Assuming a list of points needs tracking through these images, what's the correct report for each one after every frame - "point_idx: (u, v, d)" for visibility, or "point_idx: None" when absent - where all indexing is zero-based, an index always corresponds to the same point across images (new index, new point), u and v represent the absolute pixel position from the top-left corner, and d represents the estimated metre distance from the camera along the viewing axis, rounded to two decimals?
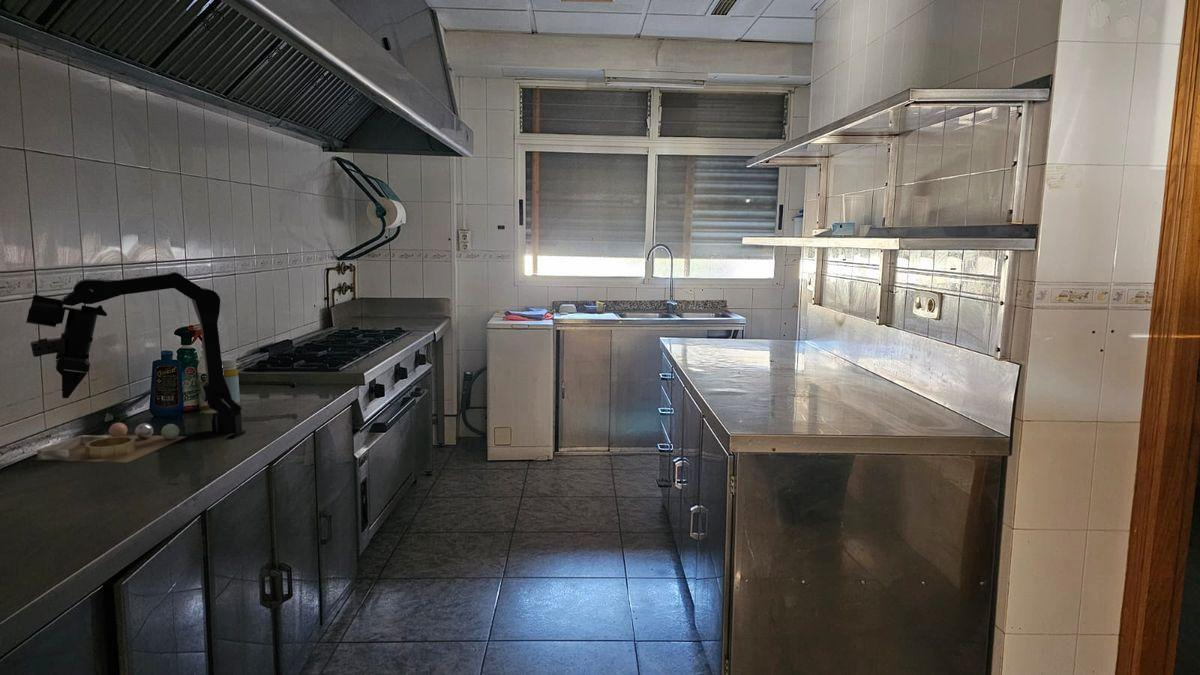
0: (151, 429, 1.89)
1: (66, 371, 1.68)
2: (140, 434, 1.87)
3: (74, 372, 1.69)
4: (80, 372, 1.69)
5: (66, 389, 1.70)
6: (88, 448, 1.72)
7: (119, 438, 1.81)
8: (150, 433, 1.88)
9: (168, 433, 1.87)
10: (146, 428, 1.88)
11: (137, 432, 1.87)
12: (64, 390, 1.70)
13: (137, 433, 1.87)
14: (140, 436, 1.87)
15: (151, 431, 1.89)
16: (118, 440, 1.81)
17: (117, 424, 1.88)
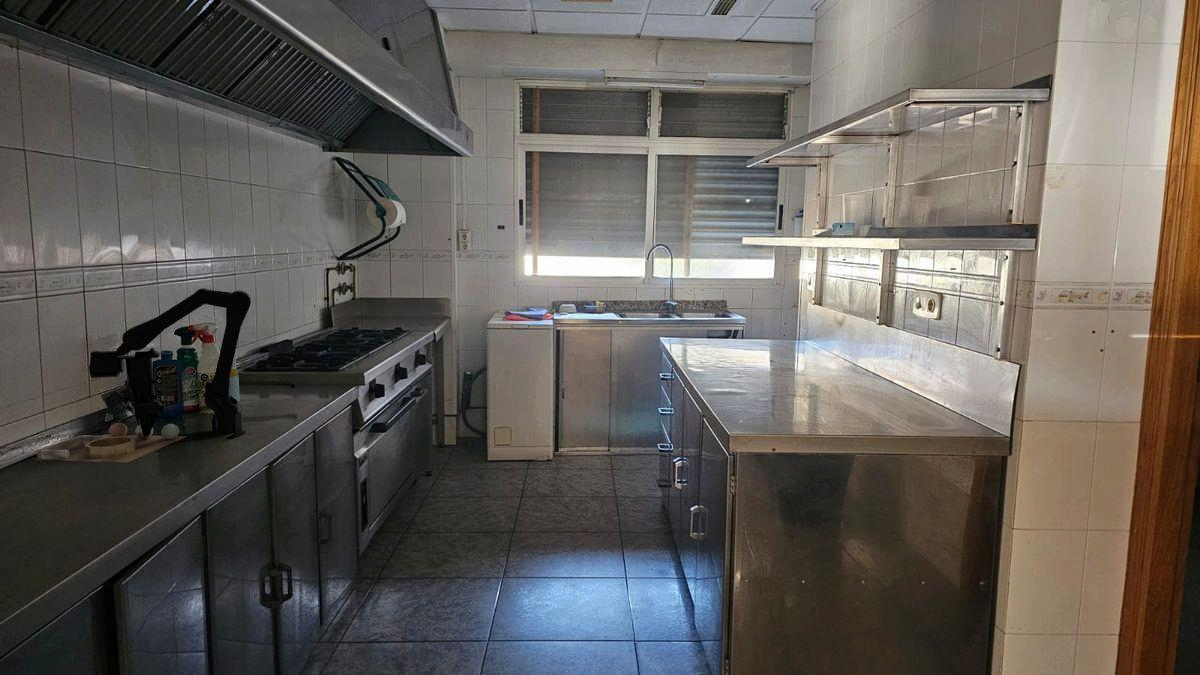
0: None
1: None
2: (140, 434, 1.87)
3: None
4: None
5: (145, 428, 1.86)
6: (88, 448, 1.72)
7: (119, 438, 1.81)
8: (150, 433, 1.88)
9: (168, 433, 1.87)
10: None
11: (137, 432, 1.87)
12: (144, 430, 1.86)
13: (137, 433, 1.87)
14: (140, 436, 1.87)
15: (151, 431, 1.89)
16: (118, 440, 1.81)
17: (117, 424, 1.88)
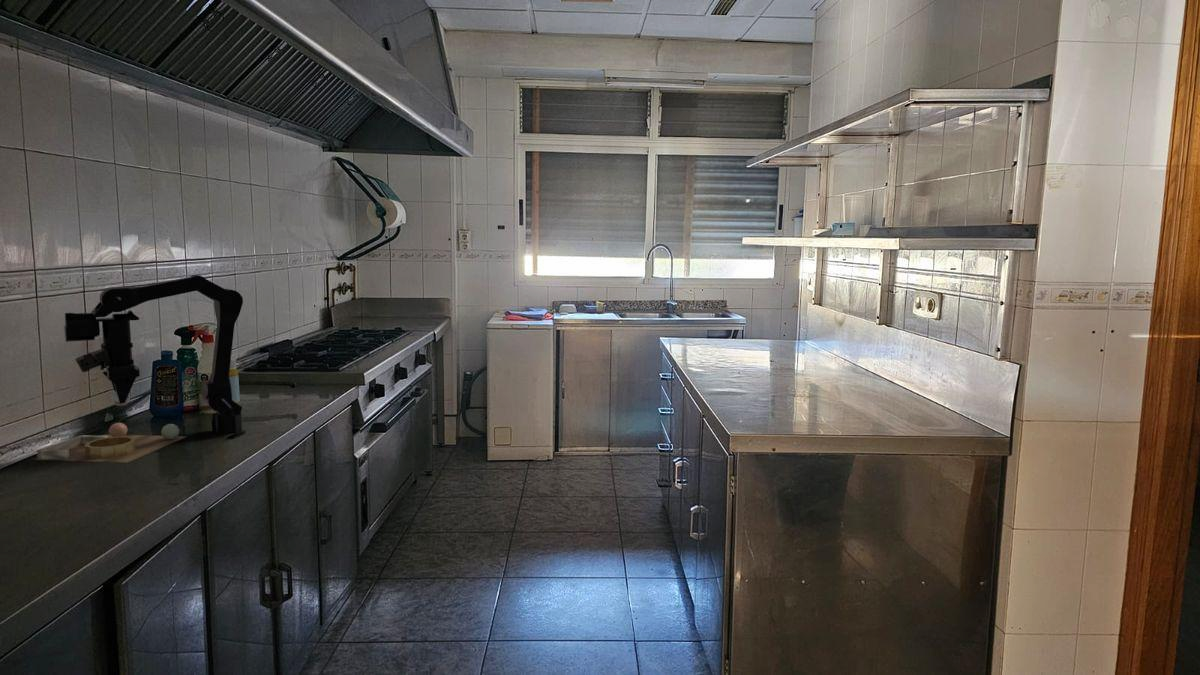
0: (128, 395, 1.81)
1: (117, 378, 1.75)
2: (116, 400, 1.79)
3: (125, 377, 1.76)
4: (130, 376, 1.77)
5: (121, 394, 1.78)
6: (88, 448, 1.72)
7: (119, 438, 1.81)
8: (127, 400, 1.80)
9: (168, 433, 1.87)
10: None
11: (113, 398, 1.79)
12: (120, 396, 1.78)
13: (113, 399, 1.79)
14: (116, 402, 1.79)
15: (128, 398, 1.81)
16: (118, 440, 1.81)
17: (117, 424, 1.88)
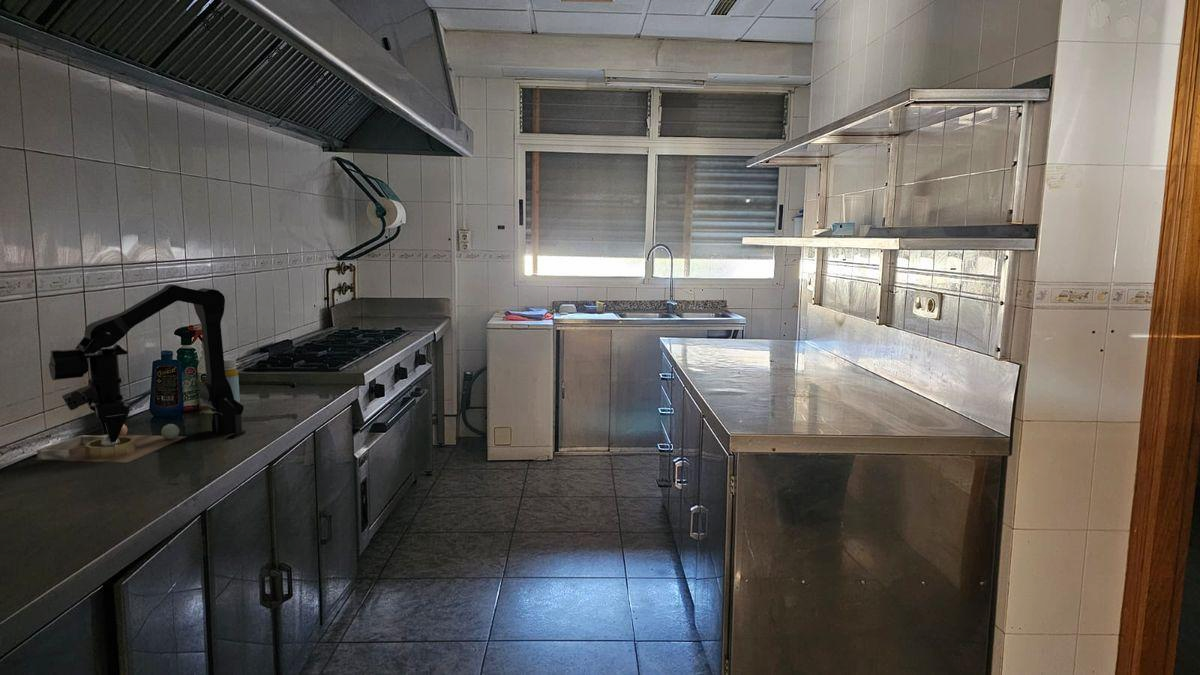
0: (118, 442, 1.77)
1: (108, 417, 1.69)
2: None
3: (116, 416, 1.70)
4: (121, 415, 1.71)
5: (112, 433, 1.72)
6: (88, 448, 1.72)
7: (119, 438, 1.81)
8: None
9: (168, 433, 1.87)
10: None
11: (102, 445, 1.75)
12: (111, 435, 1.72)
13: (103, 446, 1.75)
14: None
15: (118, 444, 1.77)
16: None
17: None
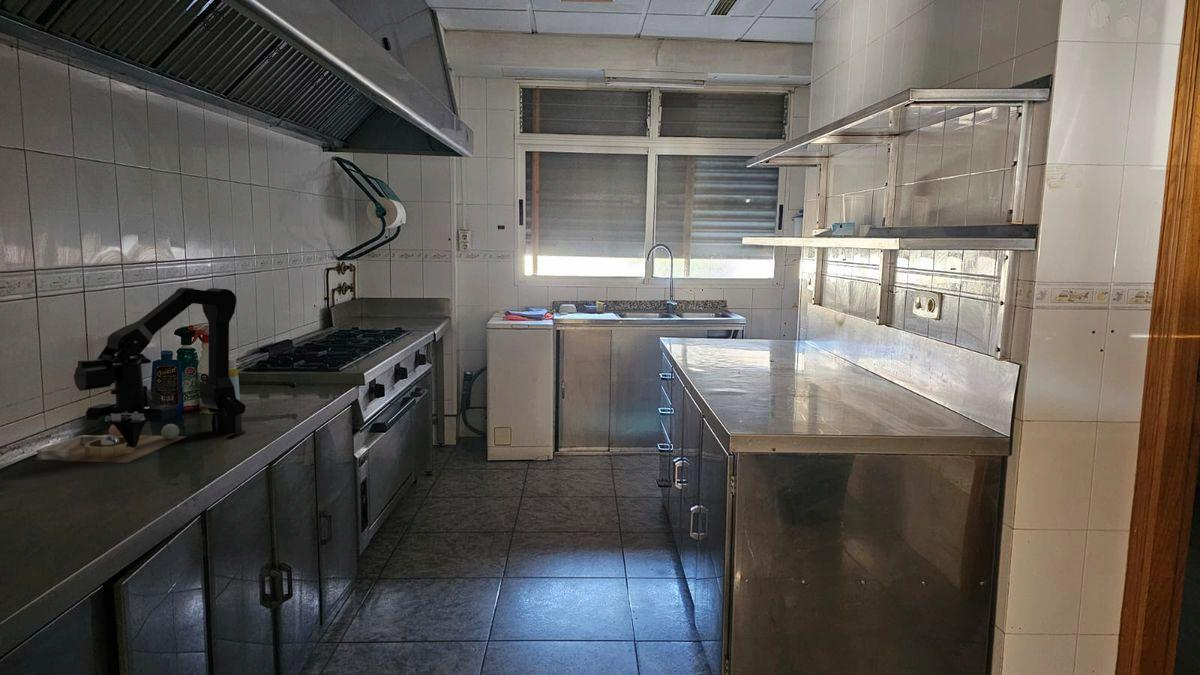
0: (117, 441, 1.77)
1: None
2: (105, 445, 1.75)
3: None
4: None
5: None
6: (88, 448, 1.72)
7: (119, 438, 1.81)
8: None
9: (168, 433, 1.87)
10: (112, 440, 1.76)
11: (102, 444, 1.75)
12: None
13: (102, 445, 1.75)
14: None
15: (117, 443, 1.77)
16: None
17: None
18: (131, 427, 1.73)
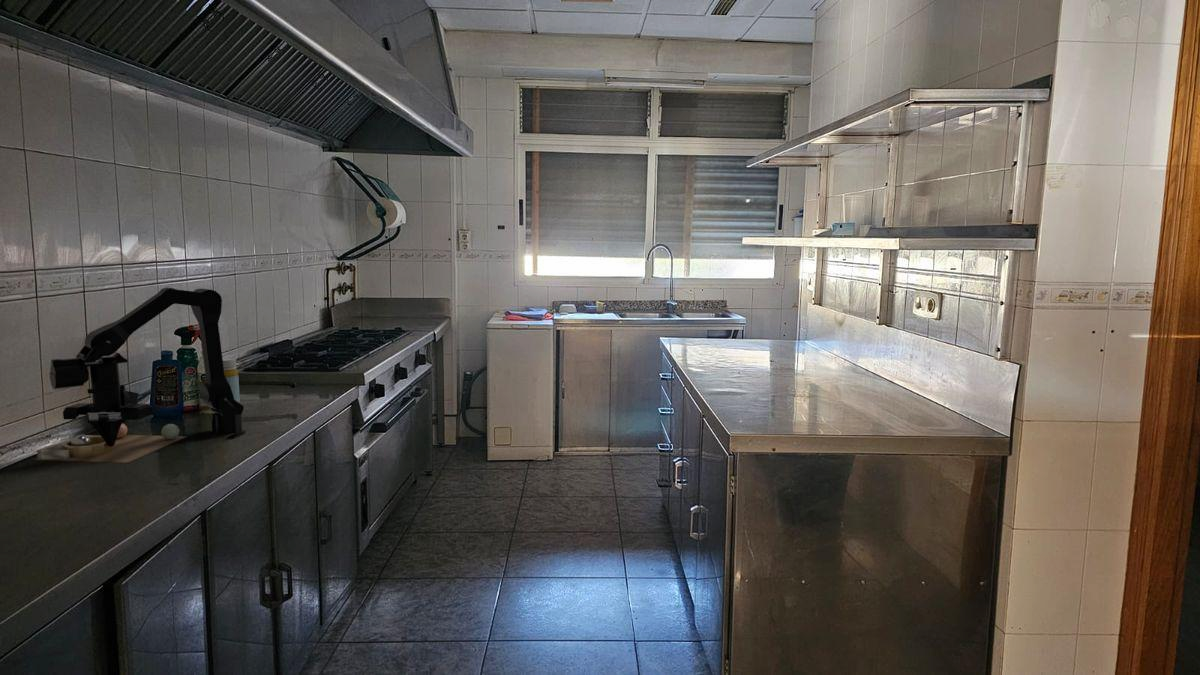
0: None
1: None
2: (73, 445, 1.76)
3: None
4: None
5: None
6: (66, 448, 1.73)
7: (97, 438, 1.81)
8: None
9: (168, 433, 1.87)
10: None
11: (77, 445, 1.76)
12: None
13: (76, 444, 1.76)
14: (73, 442, 1.76)
15: None
16: (96, 439, 1.81)
17: None
18: (108, 426, 1.74)
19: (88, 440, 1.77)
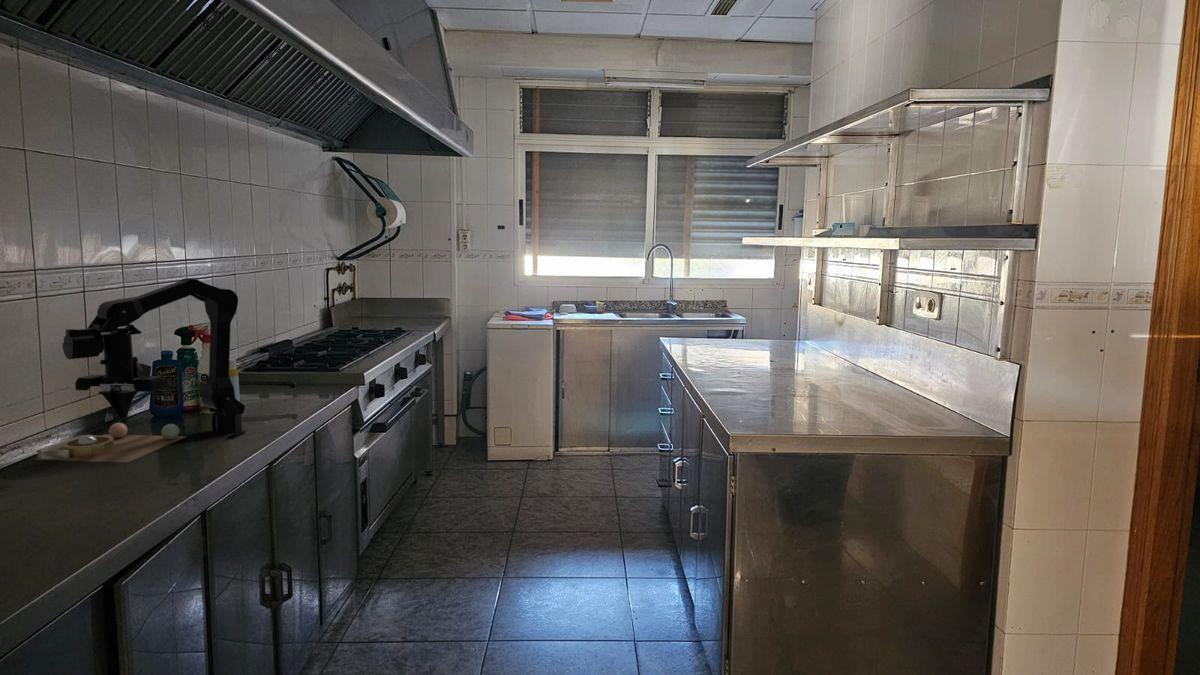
0: None
1: None
2: (80, 444, 1.76)
3: None
4: None
5: None
6: (66, 448, 1.73)
7: (97, 438, 1.81)
8: None
9: (168, 433, 1.87)
10: None
11: None
12: None
13: (84, 445, 1.76)
14: (82, 441, 1.76)
15: None
16: None
17: (117, 424, 1.88)
18: (121, 398, 1.72)
19: None
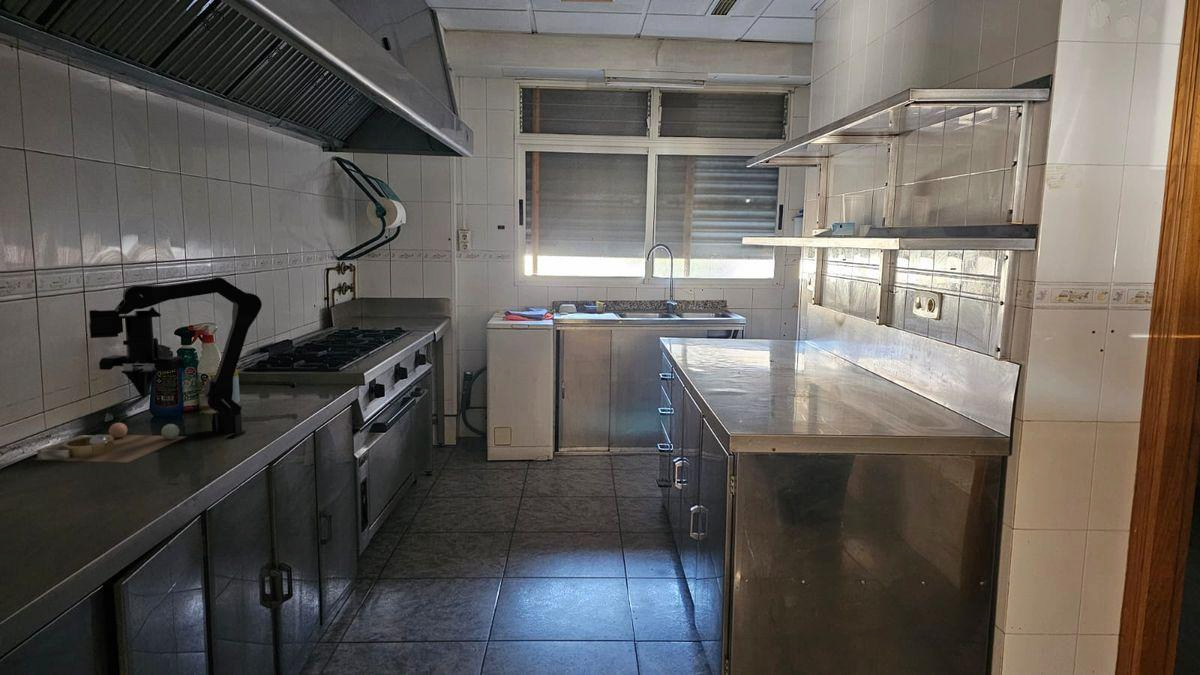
0: (96, 435, 1.78)
1: None
2: (93, 443, 1.76)
3: None
4: None
5: None
6: (66, 448, 1.73)
7: None
8: (98, 435, 1.77)
9: (168, 433, 1.87)
10: (91, 438, 1.77)
11: None
12: None
13: None
14: (97, 443, 1.76)
15: (97, 435, 1.78)
16: None
17: (117, 424, 1.88)
18: (142, 377, 1.81)
19: None
